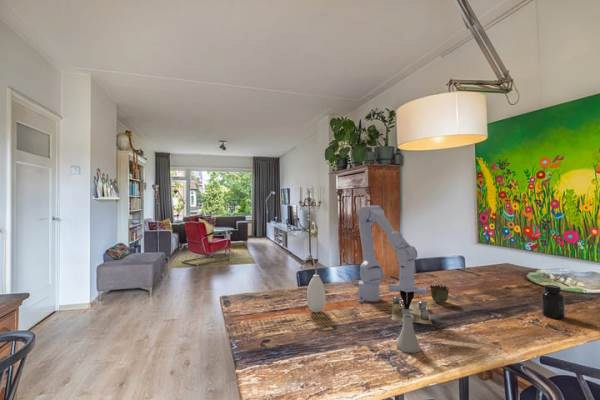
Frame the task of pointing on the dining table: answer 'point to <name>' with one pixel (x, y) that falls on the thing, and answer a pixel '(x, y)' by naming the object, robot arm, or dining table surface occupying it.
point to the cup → (439, 293)
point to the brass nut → (397, 308)
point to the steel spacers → (406, 310)
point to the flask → (408, 336)
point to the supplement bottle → (553, 302)
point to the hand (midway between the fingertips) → (407, 310)
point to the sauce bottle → (316, 294)
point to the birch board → (412, 311)
